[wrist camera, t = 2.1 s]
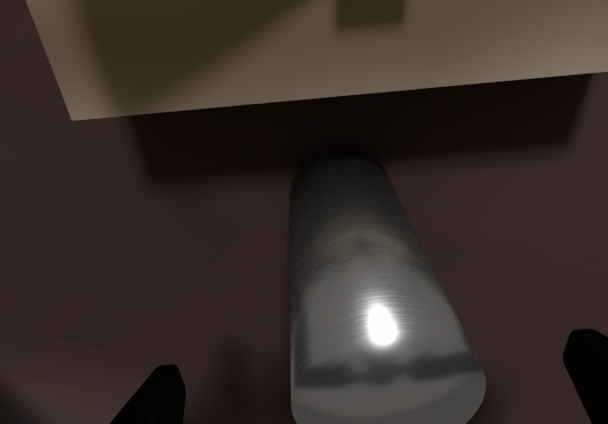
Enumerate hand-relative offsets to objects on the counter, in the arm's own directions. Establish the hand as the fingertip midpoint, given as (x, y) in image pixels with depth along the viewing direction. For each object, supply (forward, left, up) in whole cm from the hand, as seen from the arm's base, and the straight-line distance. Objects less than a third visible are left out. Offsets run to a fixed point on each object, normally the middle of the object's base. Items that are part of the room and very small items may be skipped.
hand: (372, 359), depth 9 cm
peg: (0, 0, -8) cm, 8 cm away
